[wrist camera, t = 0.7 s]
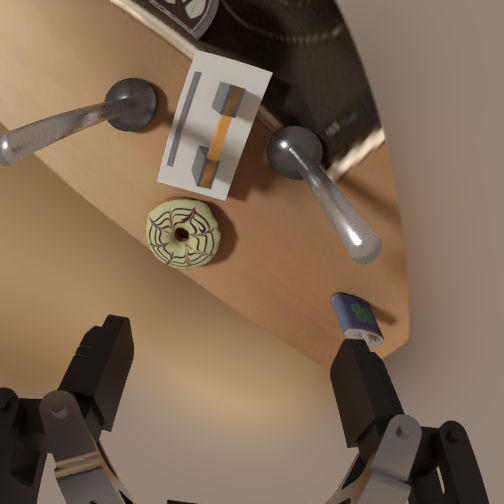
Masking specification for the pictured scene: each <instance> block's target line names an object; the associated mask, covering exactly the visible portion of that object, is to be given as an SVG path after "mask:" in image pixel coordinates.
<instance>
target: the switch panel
mask: <svg viewBox="0 0 504 504" xmlns="http://www.w3.org/2000/svg"><path fill="white" fill-rule="evenodd" d="M271 75H272V72H269V71H266V70H263V69H260V68H257V67H254V66H251V65H248V64H245V63H242V62H238V61H235V60H232V59H228V58H225V57H221V56H217V55H214V54H210V53H206V52H202V51H198V50H197V51H196V53H195V56H194V59H193V62H192V64H191V67H190V70H189V73H188V76H187V79H186V82H185V85H184V88H183V91H182V94H181V97H180V100H179V103H178V106H177V110H176V113H175V116H174V120H173V123H172V126H171V130H170V133H169V137H168V141H167V144H166V148H165V152H164V156H163V160H162V164H161V168H160V172H159V176H158V180H157V182H160V183H164V184H167V185H171V186H175V187H178V188H182V189H186V190H189V191H193V192H196V193H200V194H203V195H207V196H210V197H214V198H217V199H221V200H224V201H225V199H226V197H227V194H228V191H229V188H230V185H231V182H232V179H233V176H234V174H235V171H236V168H237V165H238V162H239V160H240V157H241V154H242V151H243V149H244V146H245V143H246V140H247V138H248V135H249V132H250V130H251V127H252V124H253V122H254V119H255V116H256V114H257V111H258V109H259V106H260V103H261V101H262V98H263V96H264V93H265V91H266V88H267V85H268V83H269V80H270V78H271ZM220 81H222V82H225V83H228V84H232V85H235V86H238V87H241V88H244V89H246V90H245V93H244V96H243V98H242V101H241V104H240V106H239V109H238V112H237V114H236V117H235V118H232V120H231V123H230V125H229V128H228V131H227V134H226V137H225V140H224V143H223V146H222V148H221V151H220V154H219V157H218V159H219V161H220V163H219V166H218V169H217V172H216V175H215V178H214V181H213V185H212V188H211V189H207V188H202V187H197V186H196V183H195V180H194V177H193V174H192V171H191V169H192V166H193V163H194V159H195V156H196V153H197V149H198V146H199V145H200V146H204V147H209V148H210V144H211V141H212V138H213V135H214V132H215V129H216V126H217V123H218V121H219V118H220V115H221V114H219V113H218V112H217V111H216V110H214V109H213V108H212V107H211V106H212V103H213V101H214V98H215V95H216V92H217V89H218V86H219V84H220Z"/></svg>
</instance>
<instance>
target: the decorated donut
mask: <svg viewBox="0 0 504 504" xmlns="http://www.w3.org/2000/svg"><path fill="white" fill-rule="evenodd" d="M180 227H182V228H184V229H185V230H187V231H188V232H189V238H182V237H180V236H178V234H177V232H176V229H177V228H180ZM146 238H147V242H148V244H149V247H150V249H151V250H152V252H153V253H154V255H155V256H156V257H157V258H158V259H159V260H160V261H161V262H163V263H165V264H167V265H169V266H171V267H174V268H178V269H189V268H194V267H197V266H201V265H204V264H206V263H208V262H209V261H210V260H211V259H212V258H213V256H215V254H216V252H217V250H218V247H219V241H220V239H221V232H220V229H219V226H218V223H217V221H216V219H215V217H214V216H213V215H212V213H211V210H210V208H209V207H208V206H207V204H205V203H204V202H201V201H198V200H194V199H190V198H186V197H171V198H168V199H166V200H165V201H163V202H161V203H160V204H158V206H157V207H156V208H155V209H153V210H152V211H150V213H149V217H148V220H147V224H146Z"/></svg>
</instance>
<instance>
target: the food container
mask: <svg viewBox="0 0 504 504" xmlns="http://www.w3.org/2000/svg"><path fill="white" fill-rule="evenodd" d="M148 1H149V2H151V3H152V4H153V5H155V6H156V7H157V8H159V9H160V10H161V11H163V12H164V13H165V14H167V15H168V16H169V17H171V18H172V19H173V20H174V21H176V22H177V23H178V24H180V25H181V26H182V27H183V28H184V29H186V30H187V31H188V32H189V33H191V34H192V35H193V36H194V37H195V38H197V39H198V40H199V39H200V38H201V37H202V36H203V35H204V34H205V32H206V30H207V28H208V27H209V26H210V24H211V23H212V21H213V19H214V17H215V15H216V12H217V9H218V4H219V0H148Z"/></svg>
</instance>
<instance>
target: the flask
mask: <svg viewBox="0 0 504 504" xmlns="http://www.w3.org/2000/svg"><path fill="white" fill-rule="evenodd" d="M333 295H334V296H333ZM333 295H332V297H331V302H332V305H333V307H334V309H335V312H336V314H337V318H338V320H339V323H340V326H341V328H342V332H343V335H344V337H346V338H352V339H364V340H365V341H366V343H367V345H369V346H371V345H372V346H377V345H380V344H381V343H382V342H383V341H384V337H383V335H382V333H381V331H380V328H379V326H378V324H377V322H376V320H375V317H374V315H373V313H372V311H371V308H370V306H369V303H367V301H365V300H363V299H361V298H360V297H356V296H353V295H350V294H346V293H335V294H333Z"/></svg>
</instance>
